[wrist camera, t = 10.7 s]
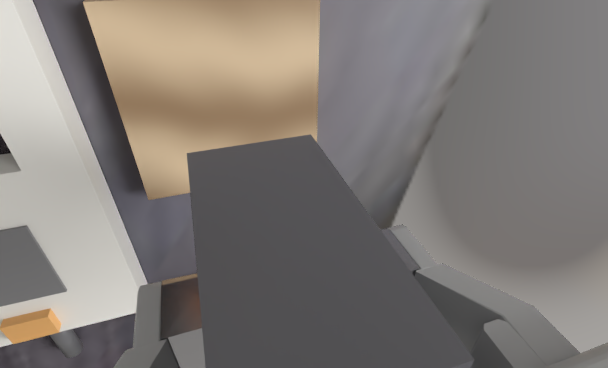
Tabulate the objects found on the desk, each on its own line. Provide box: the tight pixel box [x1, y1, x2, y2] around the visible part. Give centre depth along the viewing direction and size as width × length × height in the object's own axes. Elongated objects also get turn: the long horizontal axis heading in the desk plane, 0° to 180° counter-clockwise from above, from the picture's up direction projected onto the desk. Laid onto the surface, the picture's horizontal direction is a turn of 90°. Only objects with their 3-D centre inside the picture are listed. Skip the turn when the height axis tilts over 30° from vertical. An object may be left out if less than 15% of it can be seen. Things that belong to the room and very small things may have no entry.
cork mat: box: [83, 0, 320, 200], centre depth 18 cm, size 10×10×1 cm
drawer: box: [187, 134, 474, 368], centre depth 9 cm, size 4×4×10 cm
